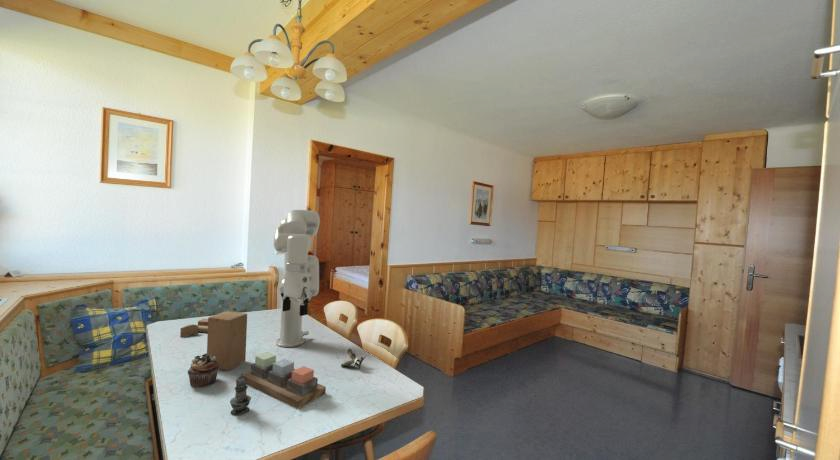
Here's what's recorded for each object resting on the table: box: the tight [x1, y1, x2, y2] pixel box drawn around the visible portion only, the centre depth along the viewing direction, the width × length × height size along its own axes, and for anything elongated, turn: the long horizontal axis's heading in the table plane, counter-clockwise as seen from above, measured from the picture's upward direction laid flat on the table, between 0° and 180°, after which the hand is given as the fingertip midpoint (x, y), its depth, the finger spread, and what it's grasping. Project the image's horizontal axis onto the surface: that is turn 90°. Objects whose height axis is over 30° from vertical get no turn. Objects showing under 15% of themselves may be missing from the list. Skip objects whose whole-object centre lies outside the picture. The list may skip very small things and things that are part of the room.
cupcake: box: [187, 352, 220, 389], centre depth 124 cm, size 10×10×10 cm
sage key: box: [254, 351, 277, 369], centre depth 129 cm, size 5×5×4 cm
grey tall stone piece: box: [229, 372, 252, 417], centre depth 108 cm, size 6×6×12 cm
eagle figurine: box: [340, 348, 366, 370], centre depth 144 cm, size 8×7×9 cm
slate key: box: [273, 358, 295, 376], centre depth 123 cm, size 5×5×4 cm
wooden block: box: [206, 310, 248, 372], centre depth 139 cm, size 10×10×20 cm
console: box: [242, 362, 327, 410], centre depth 124 cm, size 12×30×6 cm, turn 59°
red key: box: [292, 365, 315, 385], centre depth 118 cm, size 5×5×4 cm
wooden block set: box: [179, 318, 208, 338], centre depth 174 cm, size 17×6×18 cm
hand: (294, 312), depth 132 cm, fingers open, 9 cm apart
